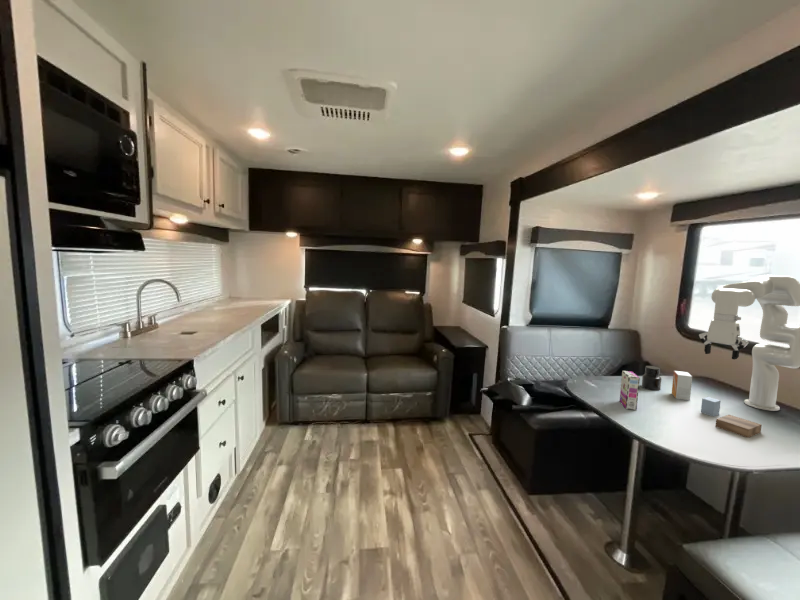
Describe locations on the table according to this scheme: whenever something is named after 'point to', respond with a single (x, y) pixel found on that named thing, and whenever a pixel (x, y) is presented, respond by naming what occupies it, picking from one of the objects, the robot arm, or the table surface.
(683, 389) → the small box
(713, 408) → the slate block
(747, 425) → the walnut block
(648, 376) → the ink bottle
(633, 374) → the candy bar box
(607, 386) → the table surface
